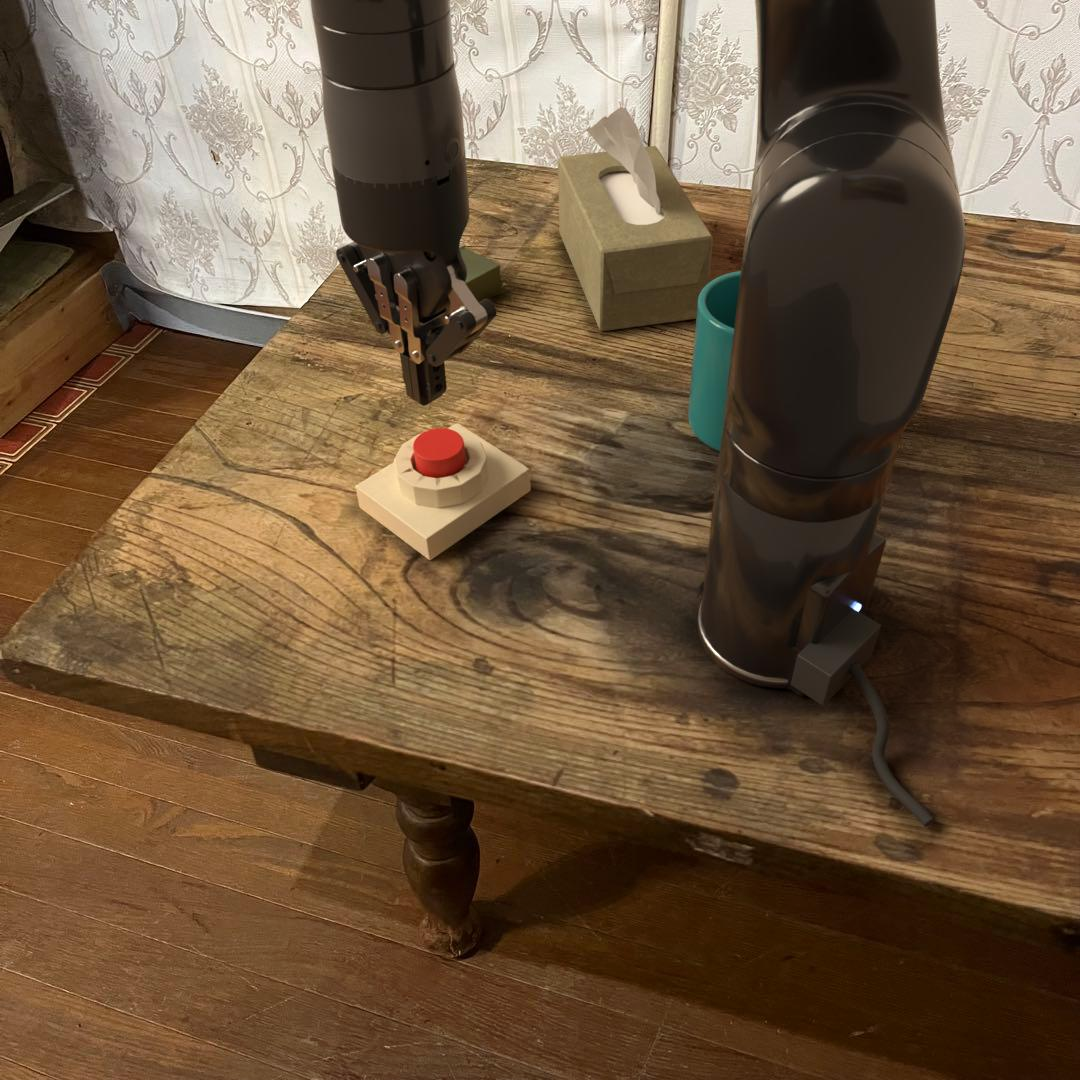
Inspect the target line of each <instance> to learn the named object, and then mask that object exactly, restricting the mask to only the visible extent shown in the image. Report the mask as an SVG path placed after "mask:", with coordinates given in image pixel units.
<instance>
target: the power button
mask: <svg viewBox="0 0 1080 1080" xmlns="http://www.w3.org/2000/svg"><path fill="white" fill-rule="evenodd" d="M421 433H422V434H421ZM421 433H419V434H420V435H419V436H418V437H417V438H416V439H415V441H414V444H413V450H414V456H415V463H416V467H417V469H418V471H419V472H420V473H421V474H423V475H424V476H426V477H432V478H443V477H448V476H453V475H455V474H457V473H458V472H460V471H461V470H462V469H463V467H464V465H465V462H466V457H465V448H464V440H463V438H462V436H461V435H460V434H459V433H457V432H456V431H454V430H451V429H448V428H446V427H445V428H444V427H438V428H437V427H436V428H430V429H427V430H426V431H424V432H421Z"/></svg>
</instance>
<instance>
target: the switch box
mask: <svg viewBox="0 0 1080 1080" xmlns="http://www.w3.org/2000/svg"><path fill="white" fill-rule="evenodd" d="M447 429H451V430H454V431H456V432H457V433H459V434H460V435H461V436H462V438H463V440H464V448H465V457H466V462H465V465H464V467H463V469H462V470H461V471H460V472H458V473H457V474H455V475H453V476H448V477H443V478H432V477H426V476H424V475H423V474H421V473H420V472H419V471H418V469H417V467H416V463H415V456H414V450H413V444H414V441H415V439H416V438H417V437H418V436H419V435H420V434H422V433H423V432H421V433H419V434H417V435H415V436H414V437H411V438H410V439H409V440H407V441H405V442H404V443H402V445H401V446H400V448H399V450H398V452H397V454H396V455H395V457H394V459H393V462H391V463H390V464H388V465H386V466H385V467H382V469H380V470H379V471H377V472H375V473H374V474H372V475H371V476H368V477H367V478H366V479H364V480H363V481H361V482H359V483H357V484H356V485H355V486H354V488H355V493H356V496H357V502H358V506H359V508H360V509H361V510H362V511H363V512H364V513H366V514H367V515H368V516H370V517H372V518H373V519H374V520H375V521H377V522H378V523H379V524H381V525H382V526H383V527H385V528H386V529H387V530H388V531H390V532H391V533H392V534H394V535H395V536H397V537H398V538H399V539H400V540H401V541H403V542H405V543H406V544H407V545H408V546H409V547H411V548H412V549H414V550H415V551H417V552H418V553H419V554H420V555H422V556H423V557H425V558H426V559H427V560H429V561H432V560H433V559H434V558H436V557H437V556H439V555H441V554H442V553H443V552H444V551H446V550H448V549H449V548H450V547H452V546H453V545H455V544H456V543H457V542H459V541H460V540H462V539H463V538H465V537H466V536H468V535H469V534H470V533H472V532H474V531H475V530H476V529H478V528H479V527H481V526H482V525H484V524H486V522H488V521H489V520H490V519H492V518H494V517H495V516H496V515H498V514H500V513H501V512H502V511H504V510H505V509H506V508H507V507H509V506H511V505H512V504H514V503H515V502H516V501H517V500H519V499H521V498H522V497H523V496H525V495H526V494H528V493H529V492H531V490H532V489H531V471H530V468H529V467H527V466H526V465H524V464H523V463H521V462H520V461H519V460H517V459H515V458H514V457H512V456H510V455H508V453H506V452H504V451H503V450H501V449H499V448H497V447H496V446H494V445H493V444H491V443H490V442H488V441H486V440H485V439H484V438H483V437H480V436H479V435H477V434H476V433H474V432H473V431H471V430H470V429H468V428H466V427H465V426H464V425H462V424H460V423H459V422H456V423H454V424H453V425H451V426H450V427H448V428H447Z"/></svg>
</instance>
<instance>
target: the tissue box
mask: <svg viewBox="0 0 1080 1080" xmlns="http://www.w3.org/2000/svg"><path fill="white" fill-rule="evenodd" d="M585 130H586V131H587V133H588V135H590V137H591V138H592V139H593V140H594V142H595V143H597V145H598V146H599V147H600V148H601V149H603V150H604V151H600V152H590V153H581V154H574V155H564V156H563V155H562V156H559V157H558V158H557V176H558V177H557V179H558V181H557V182H558V225H559V226H558V227H559V229H558V231H559V235H560V238H561V240H562V242H563V245H564V247H565V250H566V253H567V254H568V257H569V259H570V261H571V264H572V266H573V269H574V272H575V274H576V276H577V278H578V279H577V280H579V284H580V286H581V288H582V291H583V293H584V295H585V298H586V300H587V303H588V305H589V308H590V310H591V312H592V314H593V315H592V316H593V317H594V320H595V322H596V325H597V327H598V330H599V331H601V332H608V331H615V330H623V329H630V328H631V329H632V328H636V327H637V328H638V327H639V328H640V327H645V326H653V325H659V324H660V325H661V324H667V323H675V322H682V321H689V320H690V321H691V320H696V316H697V305H698V297H699V294H700V292H701V291H702V289H703V288H704V287H705V286H706V285H707V284H708V283H709V282H710V275H711V266H712V255H713V243H714V236H713V235H712V233H711V232H710V230H709V228H708V227H707V225H706V224H705V222H704V221H703V219H702V216H701V215H700V214H699V213H698V211H697V209H696V208H695V206H694V204H693V203H692V201H691V199H690V198H689V196H688V195H687V193H686V192H685V190H684V189H683V187H682V185H681V184H680V182H679V181H678V179H677V177H676V176H675V174H674V173H673V171H672V169H671V167H670V166H669V165H668V162H666V159H665V157H664V156H663V155H662V153H661V152H660V150H659V148H658V147H657V146H656V145H651V146H645V145H644V143H643V141H642V138H641V134H640V132H639V129H638V126H637V124H636V122H635V120H634V119H633V117H632V116H631V115H630V113H629V111H628V109H627V108H626V107H622V106H620V107H619V108H617V109H615V110H614V111H613V112H612V113H610V114H609V115H608V116H606V115H604V116H603V117H601V118H600V119H599V121H597V122H596V123H595V124H594V125H593V126H591V127H588V128H585Z"/></svg>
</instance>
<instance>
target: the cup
mask: <svg viewBox="0 0 1080 1080" xmlns="http://www.w3.org/2000/svg"><path fill="white" fill-rule="evenodd" d="M740 276H741V270H737V271H733V272H729V273H725V274H722V275H720V276H718V277H716V278H714V279H713V280H711V281H709V283H708V284H707V285H706V286H705V287H704V288H703V289H702V291H701V292H700V294H699V297H698V305H697V316H696V319H695V331H694V339H693V340H694V341H693V352H692V361H691V374H690V383H689V394H688V395H689V396H688V404H687V405H688V406H687V408H688V409H687V420H688V424H689V427H690V430H691V431H692V432H693V433H692V434H694V435H695V437H696V438H697V439H698V440H699V441H700V442H701V443H703V444H704V445H706V446H707V447H709V448H710V449H712V450H714V451H717V452H718V453H720V445H721V436H722V428H723V420H724V411H725V402H726V393H727V381H728V375H729V370H730V362H731V354H732V345H733V336H734V327H735V319H736V310H737V301H738V293H739V284H740Z"/></svg>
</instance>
